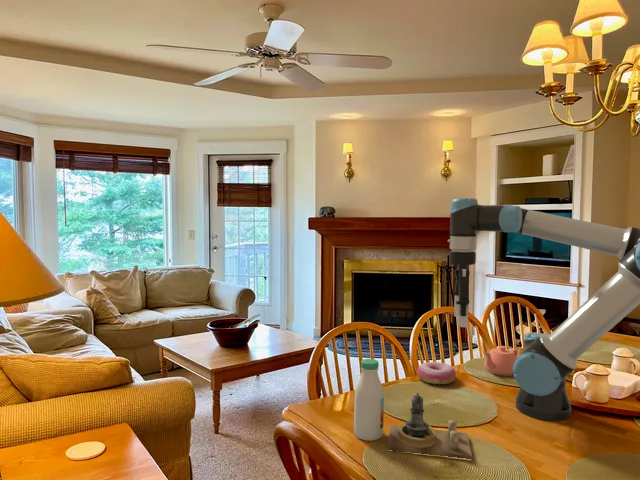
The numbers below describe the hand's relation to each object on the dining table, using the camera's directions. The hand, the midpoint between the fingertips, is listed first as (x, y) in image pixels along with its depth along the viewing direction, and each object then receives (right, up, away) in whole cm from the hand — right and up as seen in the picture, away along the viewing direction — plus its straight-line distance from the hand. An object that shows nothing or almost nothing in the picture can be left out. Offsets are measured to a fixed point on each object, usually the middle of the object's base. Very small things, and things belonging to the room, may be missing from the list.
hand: (460, 321), depth 141 cm
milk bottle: (-29, -28, -15) cm, 43 cm away
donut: (-1, -25, +26) cm, 37 cm away
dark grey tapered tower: (-17, -27, -20) cm, 37 cm away
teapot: (+25, -25, +35) cm, 50 cm away
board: (-14, -28, -20) cm, 37 cm away
